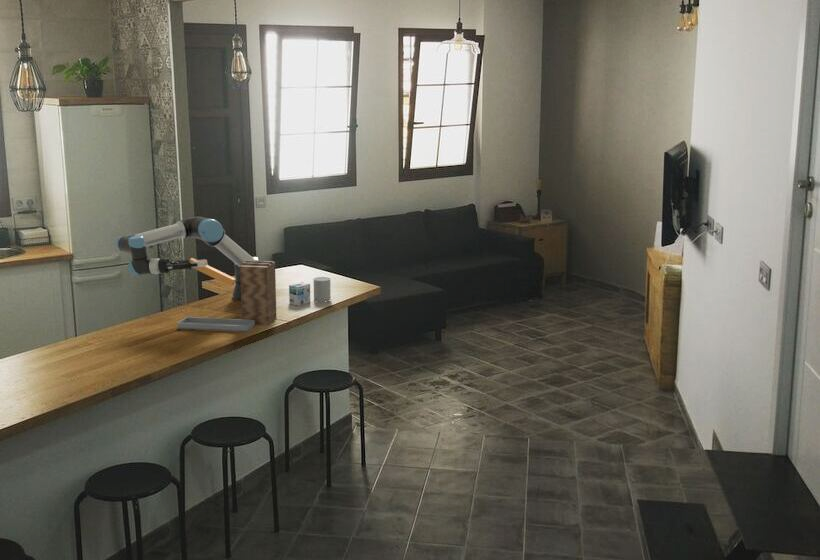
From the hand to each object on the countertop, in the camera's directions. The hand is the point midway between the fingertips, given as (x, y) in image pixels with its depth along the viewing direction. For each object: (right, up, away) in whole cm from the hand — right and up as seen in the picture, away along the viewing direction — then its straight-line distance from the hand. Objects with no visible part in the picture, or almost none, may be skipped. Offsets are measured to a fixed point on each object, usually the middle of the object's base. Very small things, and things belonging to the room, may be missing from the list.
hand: (205, 263), depth 431 cm
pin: (+2, -6, +1) cm, 6 cm away
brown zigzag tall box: (+24, -29, +18) cm, 42 cm away
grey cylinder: (+52, -20, +62) cm, 83 cm away
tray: (+4, -32, +6) cm, 33 cm away
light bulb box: (+40, -21, +55) cm, 72 cm away
